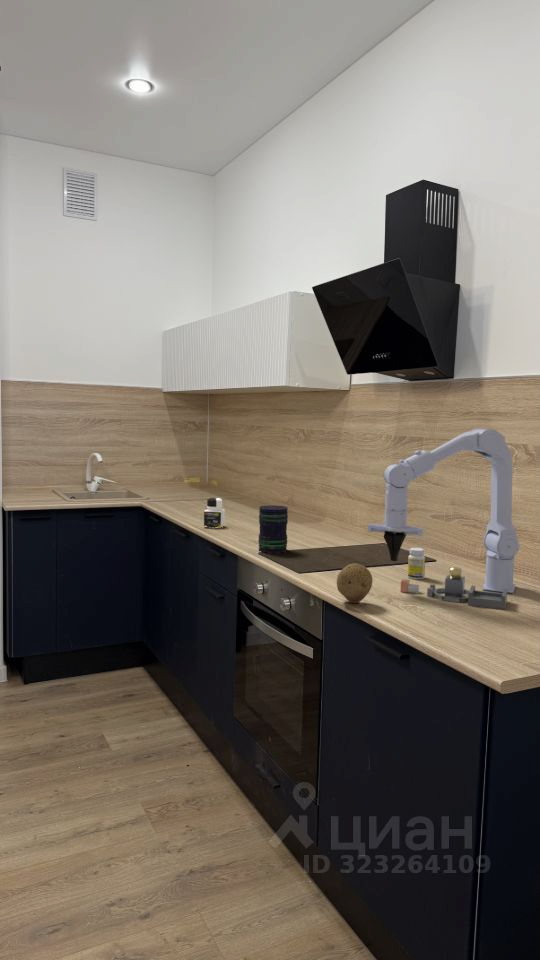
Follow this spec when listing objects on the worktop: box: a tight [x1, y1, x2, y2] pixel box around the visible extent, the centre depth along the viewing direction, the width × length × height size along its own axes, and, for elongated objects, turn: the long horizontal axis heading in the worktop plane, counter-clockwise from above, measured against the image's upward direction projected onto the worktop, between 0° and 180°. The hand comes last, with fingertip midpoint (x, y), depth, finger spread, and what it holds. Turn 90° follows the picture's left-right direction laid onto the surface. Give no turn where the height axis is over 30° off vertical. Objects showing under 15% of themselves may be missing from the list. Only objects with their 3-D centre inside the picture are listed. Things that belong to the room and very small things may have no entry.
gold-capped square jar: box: [444, 566, 466, 598], centre depth 179 cm, size 4×4×8 cm
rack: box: [467, 585, 508, 610], centre depth 173 cm, size 8×9×3 cm
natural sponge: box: [336, 563, 374, 604], centre depth 170 cm, size 9×9×10 cm
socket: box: [426, 583, 470, 603], centre depth 179 cm, size 11×12×2 cm
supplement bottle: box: [407, 547, 426, 580], centre depth 199 cm, size 5×5×8 cm
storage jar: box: [258, 505, 289, 554], centre depth 235 cm, size 10×10×15 cm
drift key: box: [399, 579, 420, 594], centre depth 183 cm, size 3×4×3 cm, turn 68°
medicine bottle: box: [203, 497, 226, 529], centre depth 282 cm, size 7×7×12 cm
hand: (394, 560), depth 184 cm, fingers closed
